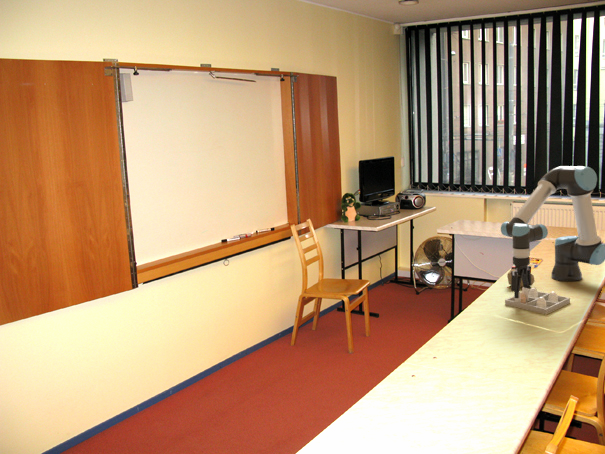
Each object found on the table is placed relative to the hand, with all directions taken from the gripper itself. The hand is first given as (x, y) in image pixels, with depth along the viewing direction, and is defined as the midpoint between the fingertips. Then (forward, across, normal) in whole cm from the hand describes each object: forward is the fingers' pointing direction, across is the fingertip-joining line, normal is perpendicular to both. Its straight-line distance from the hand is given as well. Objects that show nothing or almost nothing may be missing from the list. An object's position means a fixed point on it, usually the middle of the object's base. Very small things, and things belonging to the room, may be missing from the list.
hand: (521, 302), depth 255 cm
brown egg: (+1, 0, 0) cm, 1 cm away
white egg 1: (+1, -10, 0) cm, 10 cm away
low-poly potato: (+2, -24, -15) cm, 29 cm away
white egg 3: (+1, -10, +10) cm, 14 cm away
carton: (+1, -5, +5) cm, 7 cm away
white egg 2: (+1, 0, +10) cm, 10 cm away
